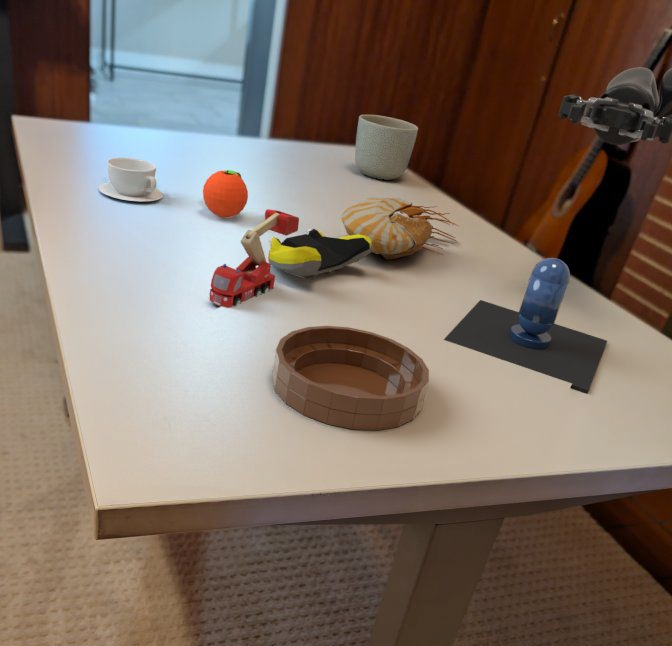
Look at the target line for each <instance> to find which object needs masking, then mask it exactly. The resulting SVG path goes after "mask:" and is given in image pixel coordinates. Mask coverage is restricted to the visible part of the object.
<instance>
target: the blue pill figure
mask: <svg viewBox="0 0 672 646" xmlns="http://www.w3.org/2000/svg"><path fill="white" fill-rule="evenodd" d="M570 279H571V271H570V269H569V266H568V265H567V264H566V263H565V261H563V260H562V259H560V258H557V257H547V258H543V259H541V260H539V262H537V263H536V264H535V266H534V267H533V268H532V271H531V273H530V276H529V280H528V283H527V286H526V289H525V292H524V295H523V298H522V301H521V304H520V307H519V310H518V312H519V314H518V320H519V325H514V326H512V327H511V330H510V333H509V337H510V338H511V339H512V340H513V341H514V342H516V343H518V344H520V345H522V346H525V347H528V348H533V349H545V348H547V347H549V344H550V342H551V336H550V335H549V334H548V333H547V331H549V330H550V329H551V328H552V326H553V325H554V324H556V320H557V318H558V314H559V312H560V309H561V306H562V303H563V300H564V297H565V295H566V292H567V289H568V286H569V283H570Z"/></svg>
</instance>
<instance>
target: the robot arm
mask: <svg viewBox="0 0 672 646" xmlns="http://www.w3.org/2000/svg"><path fill="white" fill-rule="evenodd" d="M557 117H558V118H559V119H563V120H564V119H569V120H570V123H571V124H575V125H578V124H579V123H580V124H581V125H582V126H584V127H586V128H589V129H590V128H591V129H593V131H594V132H595V135H596V136H597V138H599V139H600V140H601V141H602V142H605V143H606V144H608V145H613V146H622V145H626V144H629V143H635V142H639V141H644V142H646V141H649V142H651V141H654V140H655V138H658V141H659V142H660V143H661V144H669V143H670V140H671V137H672V67H671V68H669V69H668V70H667V71H666V72H665V73H664V75H663V77H662V79H661V83H660V89H659V93H658V89H657V82H656V77H655V75H654V72H653V71H652V70H651V69H649V68H647V67H643V66H638V67H637V66H636V67H630V68H628V69H626V70H623V71H622V72H620V73H618V74H617V75H615V76H614V77H613V78H612V79H611V80H610V81H609V82H608V84H607V86H606V88H605V91H604V92H603V93H602V94H601V95H600V96H599V97H593V96H592V97H589V98H588V99H587V100H585V99H583V97H581V96H580V95H579V94H576V93H574V94H569V95H564V96H563V97H562V101H561V104H560V107H559V111H558V114H557Z"/></svg>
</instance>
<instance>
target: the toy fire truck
mask: <svg viewBox="0 0 672 646" xmlns="http://www.w3.org/2000/svg"><path fill="white" fill-rule="evenodd" d="M299 222H300V217H298V216H296V215H293V214H290V213H286V212H283V211H280V210H278V209H277V210H276V209H271V208H270V209H265V212H264V221H262V222H261V223H259V224H258V225H257V226H256V227H254V228H253V229H247V230H246V232H245V233H244V235H243V237H242V238H241V240H240V244H241V245H242V247H243V249H244V251H245V253H246V254H247V257H246V258H245V259H244V260H243V261H242V262H241V263H240V264H239V265H238V266H237V267H236V268H233V267H230V266H228V265H227V264H226V263H223V264H222V265H220V266H217V267H216V268H215V270H214V272H213V274H212V277H211V281H210V289H209V302H211V303H212V304H214V305H216V306H217V307H220V308H221V307H223V308H229V309H230V308H233V307H237V306H238V305H241V304H242V303H244V302H246V301H249V300H251V299H252V298H253V299H254V298H258V296H261V295H262V294H263V295H265V294H266V293H268V292H270V291H271V290H273V289H274V288H275V281H276V280H275V279H276V275H275V274H273V273H271V269H272V268H271V267H272V266H271V264H270V263H269V262H267V259H266V255H265V251H264V248H263V245H262V242H261V236H263V235H264V234H265V233H267V232H268V231H272V232H274V233H277V234H280V235H283V236H289V235H292V234H294V233H296V232H298V231H299Z"/></svg>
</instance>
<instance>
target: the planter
mask: <svg viewBox="0 0 672 646" xmlns="http://www.w3.org/2000/svg"><path fill="white" fill-rule="evenodd" d="M418 131H419V127H418V126H417V125H416V124H414V123H411V122H409V121H405V120H403V119H398V118H395V117H389V116H386V115H380V114H379V115H377V114H360V115H359V116H358V121H357V129H356V136H355V145H354V147H355V148H354V163H355V165H356V167H357V169H358V171H360V172H361V173H362V174H363V175H365V176H367V177H369V178H372V179H376V178H377V180H382V179H384V180H383V181H393V179H394V180H396V179H398V178H400V177H402V175H404V174H405V172H406V171H407V168H408V166H409V164H410V160H411V157H412V153H413V150H414V148H415V143H416V139H417V136H418Z"/></svg>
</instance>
